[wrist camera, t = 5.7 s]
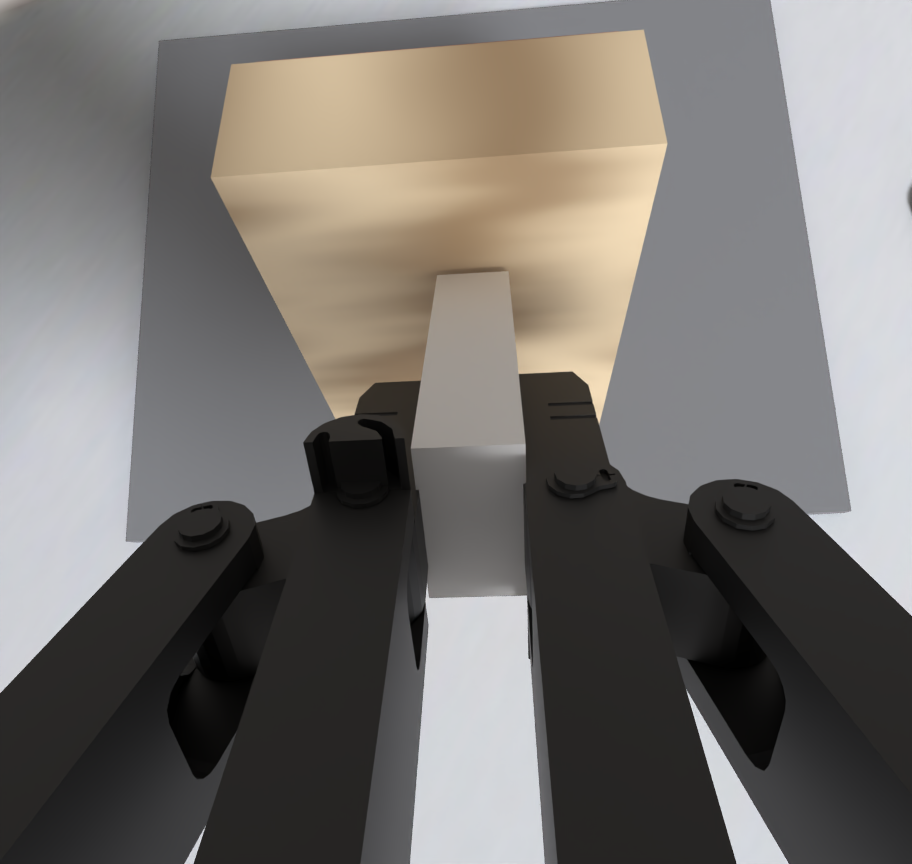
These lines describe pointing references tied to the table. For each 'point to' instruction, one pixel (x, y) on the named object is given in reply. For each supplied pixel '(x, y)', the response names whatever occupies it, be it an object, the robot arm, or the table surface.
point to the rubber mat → (648, 314)
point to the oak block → (445, 196)
